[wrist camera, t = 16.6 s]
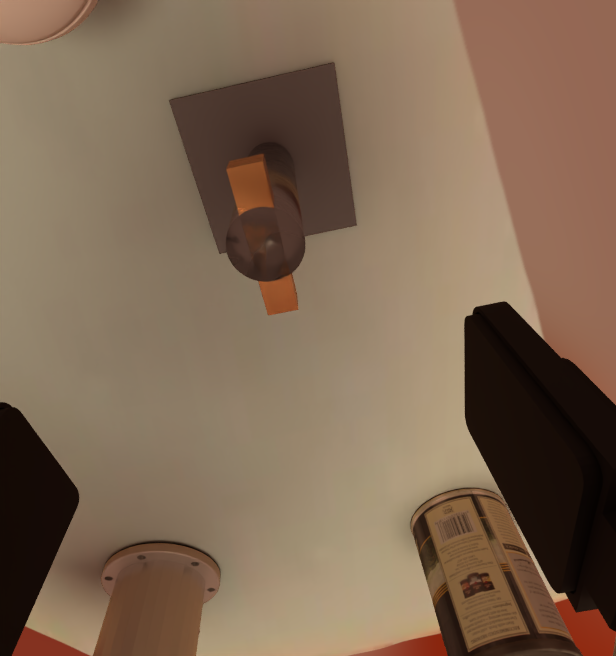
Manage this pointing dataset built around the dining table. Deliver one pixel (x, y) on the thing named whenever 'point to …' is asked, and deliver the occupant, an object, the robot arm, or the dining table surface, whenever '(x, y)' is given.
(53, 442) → the dining table surface
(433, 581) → the coffee can
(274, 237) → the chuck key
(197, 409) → the dining table surface
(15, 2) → the spinning top
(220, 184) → the mat
